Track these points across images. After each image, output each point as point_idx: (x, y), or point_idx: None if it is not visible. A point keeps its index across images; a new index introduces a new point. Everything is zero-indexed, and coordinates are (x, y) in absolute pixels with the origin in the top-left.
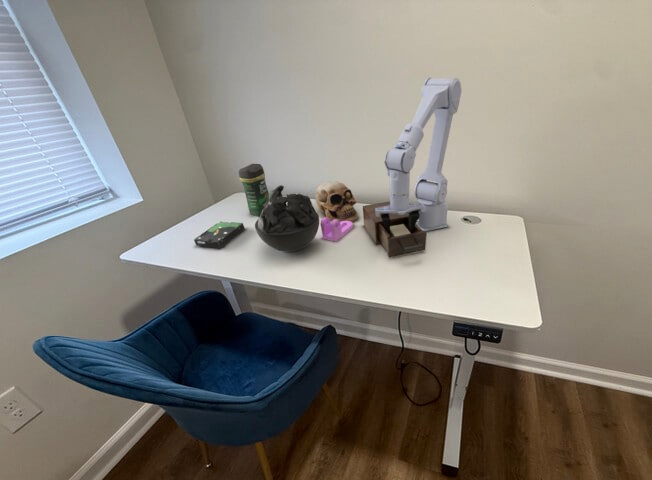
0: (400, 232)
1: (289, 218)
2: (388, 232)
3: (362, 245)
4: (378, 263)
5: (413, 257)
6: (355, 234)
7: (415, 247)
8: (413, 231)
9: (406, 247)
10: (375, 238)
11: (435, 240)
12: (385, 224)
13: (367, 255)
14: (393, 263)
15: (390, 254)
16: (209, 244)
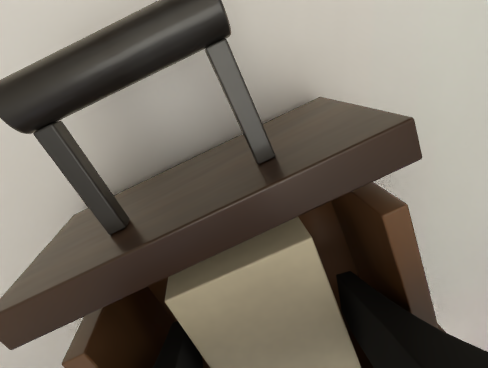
0: (268, 314)
1: None
2: (375, 295)
3: (452, 246)
4: (381, 51)
5: (152, 140)
6: (471, 335)
7: (78, 42)
8: None
9: (186, 16)
10: None
11: (43, 338)
12: (480, 353)
13: (438, 146)
14: (283, 54)
15: (318, 104)
16: None
